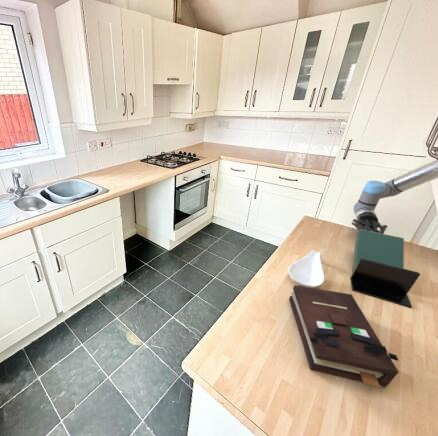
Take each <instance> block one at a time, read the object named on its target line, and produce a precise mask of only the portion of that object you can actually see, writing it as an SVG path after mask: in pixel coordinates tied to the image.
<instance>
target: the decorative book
mask: <svg viewBox="0 0 438 436" xmlns="http://www.w3.org/2000/svg"><path fill="white" fill-rule="evenodd" d="M292 290H293V291H290V294H291V295H290V296H289V298H288V300H289V304H290V308H291V310H292V314H293V317H294V320H295V323H296V327H297V329H298V331H297V332H298V333H299V334H298V335H299V336H300V340H301V344H302V347H303V350H304V353H305V357H306V360H307V363H308V366H309V370H311V371H314V372H317V373H318V372H319V373H322V374H327V375H331V376H336V377H339V378H345V379H347V380H352V381H357V382H361V383H365V384H367V385H371V386H375V387H377V388H387V387H388V386H389V385H390V384H391V382H392V381H393V380H394V379H395V377H396V376H397V375H398V374H399V370H398V368H397V367H396V365H395V363H394V362H393V361H397V362H400V360H399V357H398V356H397V354H394V353H391V352H388V350H387V348H386V346H384V345H383V343H382V342H381V340H380V339H379V337H378V336H377V334H376V332H375V331H374V329H373V327H372V326H371V324H370V322H369V321H368V319H367V317H366V316H365V314H364V312H363V311H362V309H361V307H360V306H359V305H358V302H357V301H356V299H355V298H354V295H352V294H351V293H345V292H339V291H333V290H326V289H320V288H316V287H315V288H308V287H304V286H301V285H295V284H294V285H293V287H292Z"/></svg>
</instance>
